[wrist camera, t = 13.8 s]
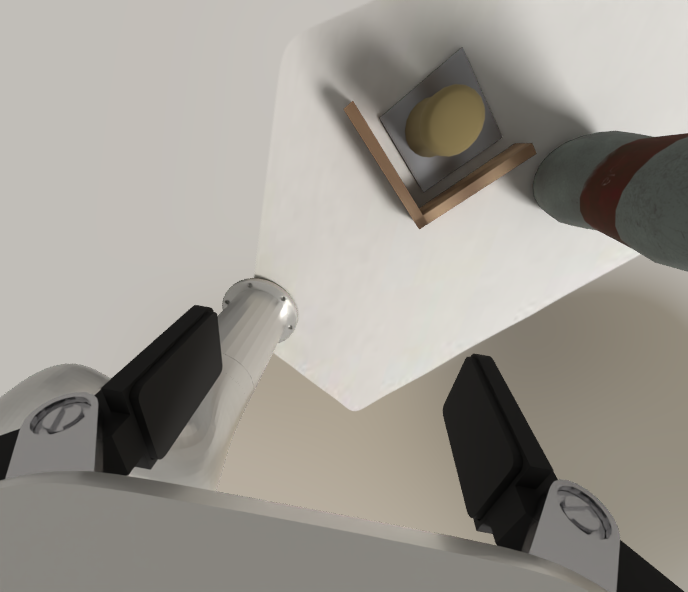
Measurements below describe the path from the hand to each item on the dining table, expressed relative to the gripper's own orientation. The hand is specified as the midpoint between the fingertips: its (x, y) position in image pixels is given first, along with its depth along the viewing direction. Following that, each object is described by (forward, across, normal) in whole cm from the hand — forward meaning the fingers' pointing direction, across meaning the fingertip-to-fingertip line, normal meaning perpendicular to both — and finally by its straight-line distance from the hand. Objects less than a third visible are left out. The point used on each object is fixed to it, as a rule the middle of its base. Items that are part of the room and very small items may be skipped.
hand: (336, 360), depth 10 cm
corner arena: (+30, -7, -10) cm, 33 cm away
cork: (+30, -6, -10) cm, 32 cm away
